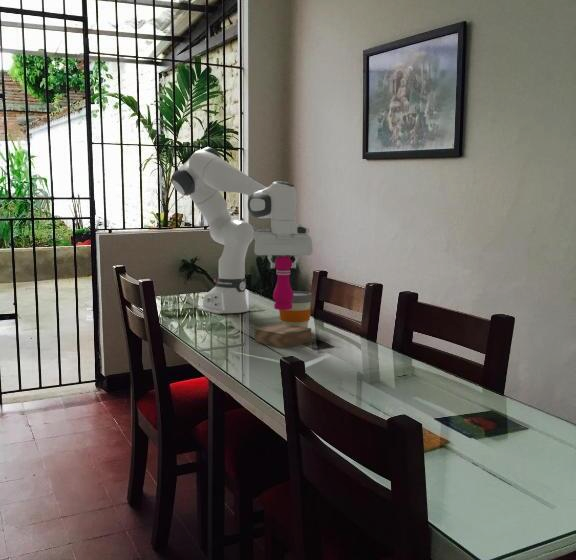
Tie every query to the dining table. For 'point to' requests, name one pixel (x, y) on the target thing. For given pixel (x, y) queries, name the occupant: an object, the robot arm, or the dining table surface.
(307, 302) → the reusable coffee cup
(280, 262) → the pepper mill
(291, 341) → the walnut block
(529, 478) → the dining table surface
